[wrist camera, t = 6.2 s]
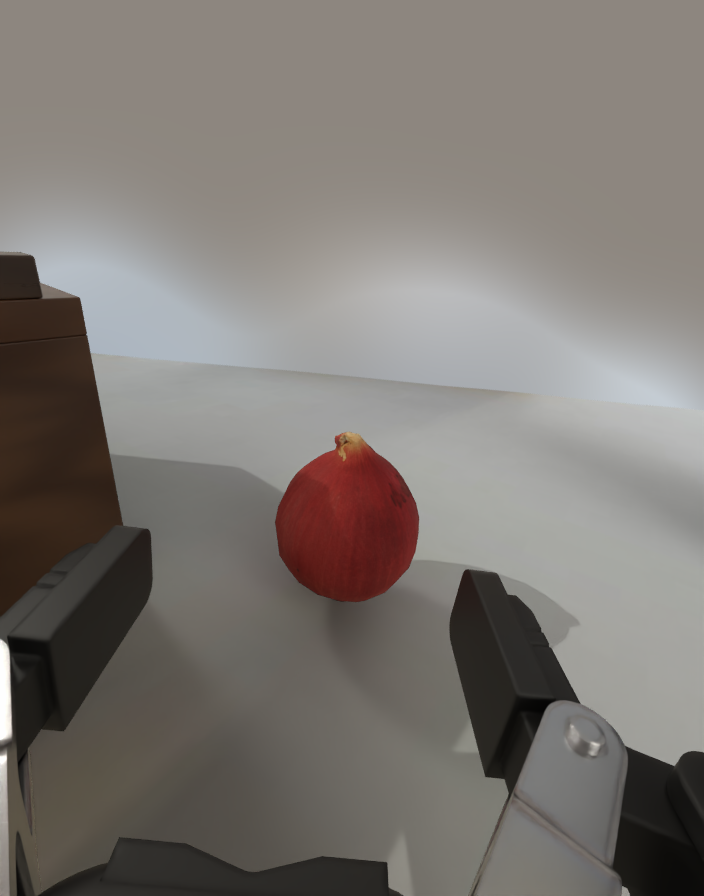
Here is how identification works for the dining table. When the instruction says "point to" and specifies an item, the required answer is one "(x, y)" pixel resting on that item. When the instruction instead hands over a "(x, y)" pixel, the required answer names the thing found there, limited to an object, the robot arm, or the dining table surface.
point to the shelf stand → (47, 432)
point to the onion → (347, 523)
